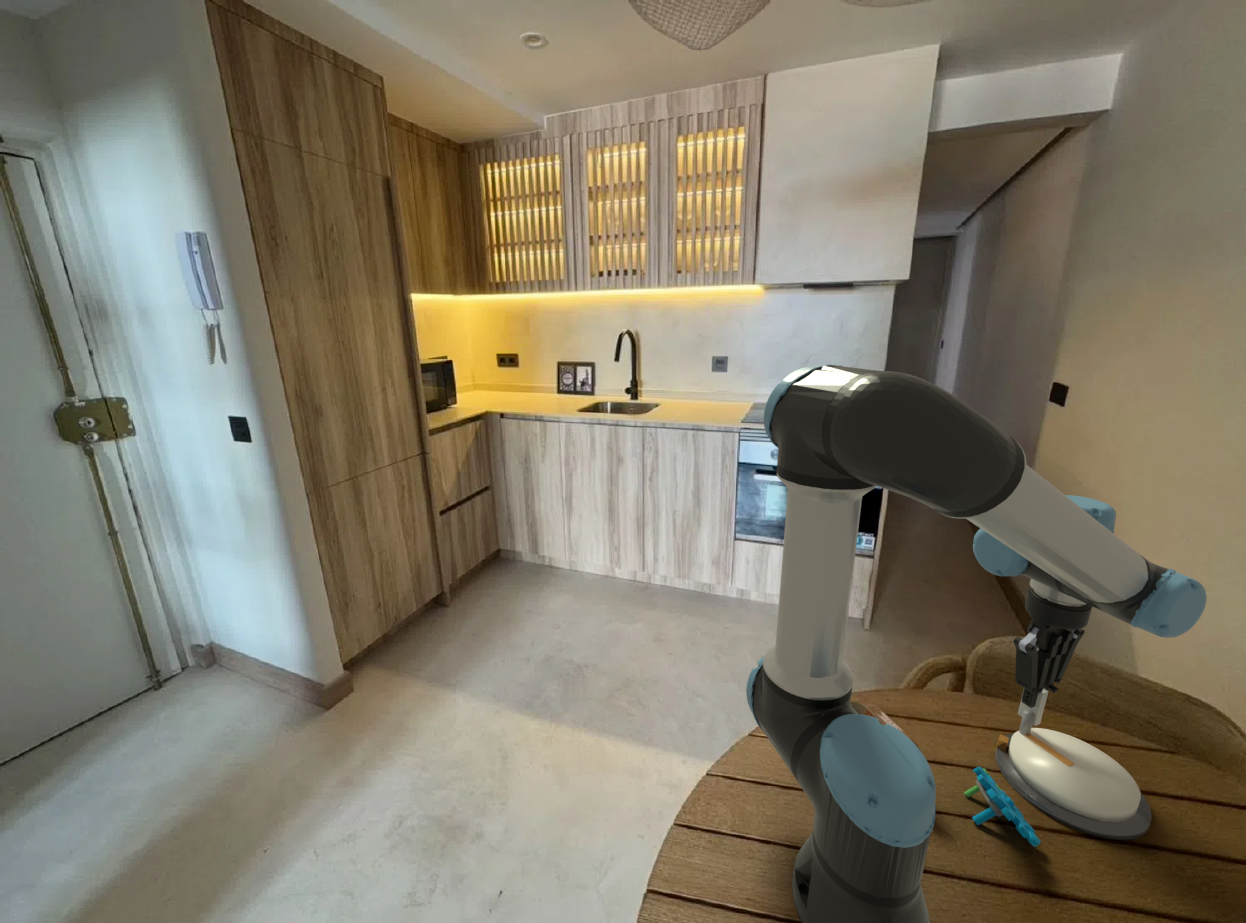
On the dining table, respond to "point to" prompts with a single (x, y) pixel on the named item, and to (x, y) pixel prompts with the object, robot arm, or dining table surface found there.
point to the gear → (999, 805)
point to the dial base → (1094, 827)
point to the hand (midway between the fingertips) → (1028, 718)
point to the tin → (876, 714)
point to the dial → (1073, 773)
